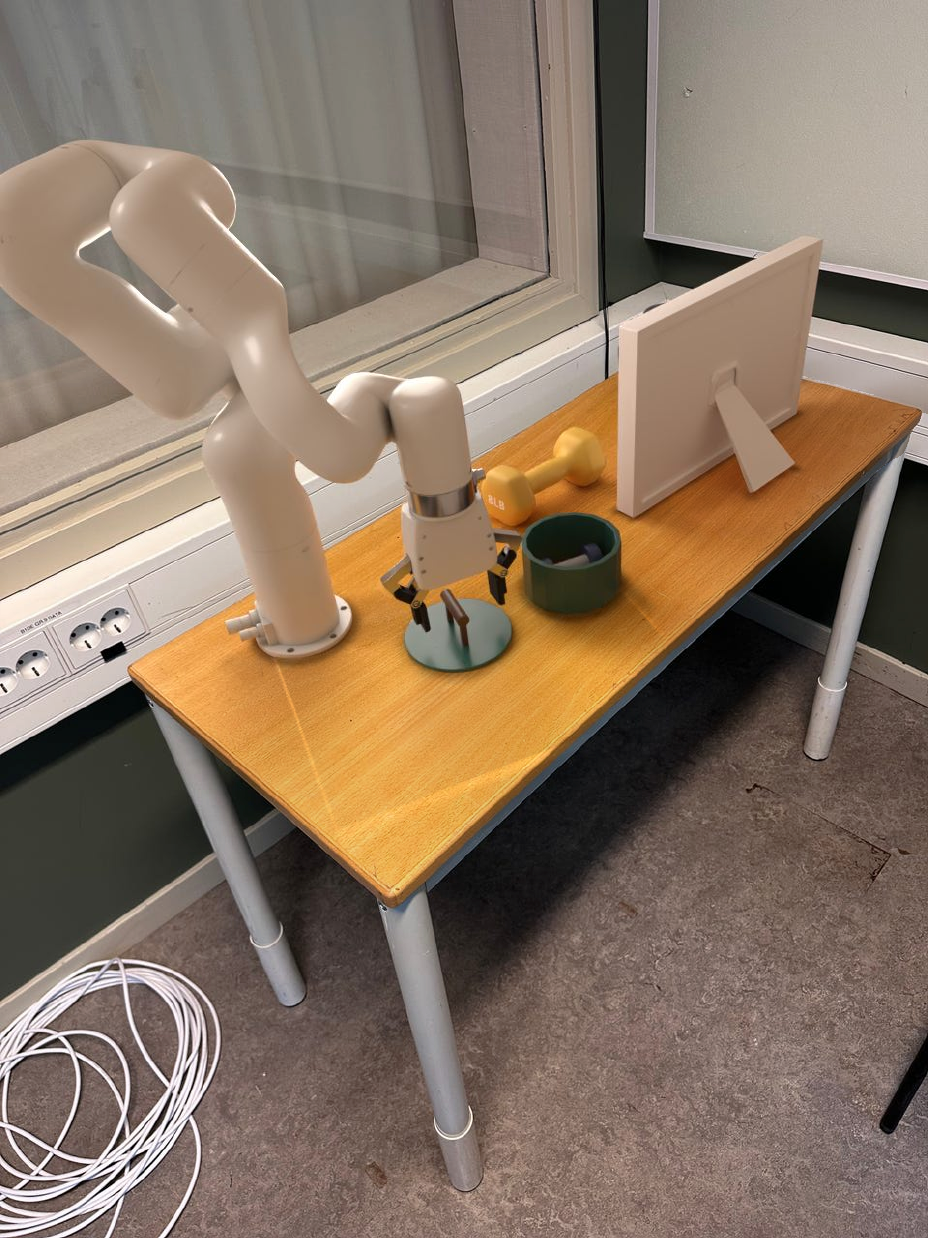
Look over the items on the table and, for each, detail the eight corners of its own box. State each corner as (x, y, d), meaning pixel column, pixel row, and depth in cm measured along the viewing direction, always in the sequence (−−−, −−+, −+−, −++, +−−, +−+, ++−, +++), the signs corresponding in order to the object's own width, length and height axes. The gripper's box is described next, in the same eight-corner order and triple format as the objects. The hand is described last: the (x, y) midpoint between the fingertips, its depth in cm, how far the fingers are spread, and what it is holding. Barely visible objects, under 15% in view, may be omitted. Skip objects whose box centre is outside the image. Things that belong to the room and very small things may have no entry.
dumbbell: (518, 538, 126) (514, 489, 121) (477, 514, 132) (472, 466, 126) (612, 485, 134) (612, 436, 129) (570, 464, 140) (569, 417, 135)
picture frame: (780, 407, 147) (804, 234, 129) (849, 430, 139) (885, 250, 121) (616, 510, 129) (618, 325, 111) (686, 543, 121) (700, 350, 103)
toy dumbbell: (550, 599, 113) (545, 568, 111) (536, 587, 117) (531, 556, 115) (607, 579, 115) (603, 548, 113) (591, 568, 119) (587, 538, 117)
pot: (550, 628, 110) (547, 581, 106) (509, 575, 120) (505, 529, 115) (637, 598, 113) (639, 550, 108) (591, 548, 122) (591, 502, 118)
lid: (426, 690, 104) (420, 653, 101) (391, 624, 114) (384, 589, 110) (530, 653, 107) (527, 616, 104) (487, 593, 117) (483, 557, 113)
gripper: (499, 453, 101) (513, 573, 112) (356, 499, 98) (385, 618, 109) (527, 483, 96) (539, 605, 107) (376, 532, 92) (404, 654, 103)
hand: (461, 612), depth 108 cm, fingers open, 9 cm apart
